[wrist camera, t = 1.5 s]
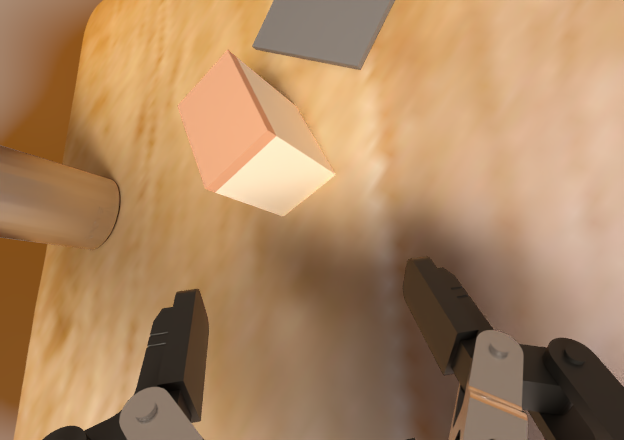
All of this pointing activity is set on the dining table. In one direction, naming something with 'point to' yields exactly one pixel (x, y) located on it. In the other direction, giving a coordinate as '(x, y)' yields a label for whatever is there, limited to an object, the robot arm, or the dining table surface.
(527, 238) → the dining table surface
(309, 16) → the mat
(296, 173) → the block
